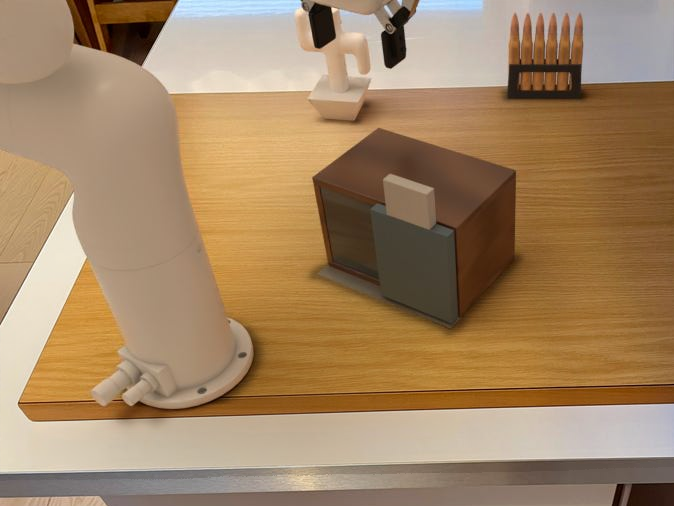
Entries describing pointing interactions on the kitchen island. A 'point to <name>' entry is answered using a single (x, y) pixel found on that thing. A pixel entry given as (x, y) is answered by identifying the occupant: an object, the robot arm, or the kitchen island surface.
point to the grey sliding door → (414, 250)
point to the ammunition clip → (545, 60)
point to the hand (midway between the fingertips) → (360, 53)
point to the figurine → (337, 70)
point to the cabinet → (450, 207)
